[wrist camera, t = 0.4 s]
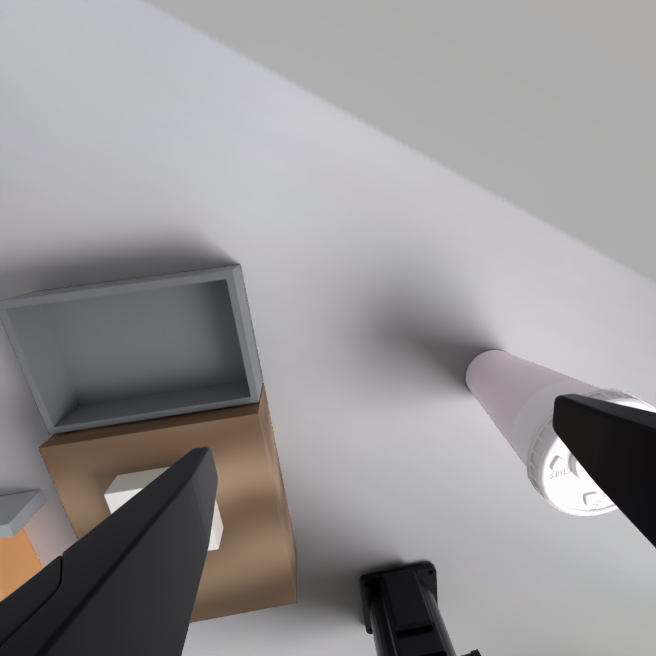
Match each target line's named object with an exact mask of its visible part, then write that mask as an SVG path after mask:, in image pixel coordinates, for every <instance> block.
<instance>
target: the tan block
mask: <svg viewBox="0 0 656 656" xmlns="http://www.w3.org/2000/svg"><path fill="white" fill-rule="evenodd" d="M201 447H209V448H211V450H212V453H213V458H214V462H215V466H216V470H217V475H218V486H217V493H216V502H217V505H218V509H219V513H220V516H221V520H222V524H223V527H224V528H223V532H222V536H221V541H220V545H219V549H216V550H211V551H208V552H207V556H206V560H205V564H204V568H203V572H202V576H201V580H200V584H199V588H198V591H197V595H196V599H195V603H194V607H193V611H192V615H191V619H190V623H192V622H197V621H202V620H208V619H213V618H218V617H223V616H229V615H234V614H239V613H244V612H250V611H255V610H260V609H265V608H271V607H276V606H281V605H286V604H292V603H297V572H296V547H295V542H294V536H293V531H292V526H291V521H290V516H289V511H288V506H287V500H286V495H285V490H284V485H283V480H282V475H281V470H280V464H279V459H278V454H277V449H276V444H275V439H274V434H273V428H272V423H271V418H270V413H269V408H268V403H267V398H266V392H265V387H264V383H262V389H261V394H260V399H259V402H255V403H249V404H243V405H236V406H230V407H223V408H217V409H210V410H204V411H198V412H191V413H185V414H178V415H172V416H165V417H159V418H152V419H146V420H140V421H133V422H127V423H120V424H114V425H107V426H101V427H95V428H88V429H82V430H75V431H69V432H62V433H56V434H54V435H53V436H52V437H50V438H49V439H48V440H47V441H46V442H45V443H44V444H43V445H41V446H40V447H39V448H38V449H39V451H40V454H41V456H42V458H43V460H44V463H45V465H46V467H47V470H48V472H49V474H50V476H51V479H52V481H53V483H54V486H55V488H56V490H57V493H58V495H59V497H60V499H61V502H62V504H63V506H64V509H65V511H66V513H67V515H68V518H69V520H70V522H71V525H72V527H73V529H74V532H75V534H76V536H77V538H78V540H79V539H81V538H82V537H83V536H84V535H86V534H87V533H88V532H89V531H91V530H92V529H93V528H94V527H96V526H97V525H98V524H99V523H101V522H102V521H103V520H104V519H106V518H107V517H108V516H109V515H111V512H110V509H109V507H108V504H107V501H106V499H105V496H104V494H105V492H106V491H107V490H108V488H109V487H110V485H111V484H112V482H113V481H114V480H115V478H116V477H117V475H122V474H128V473H134V472H140V471H146V470H152V469H158V468H164V467H171V466H172V465H173V464H174V463H176V462H177V461H178V460H179V459H181V458H182V457H183V456H184V455H186V454H187V453H188V452H189V451H191V450H192V449H194V448H201Z"/></svg>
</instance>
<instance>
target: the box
mask: <svg viewBox="0 0 656 656" xmlns="http://www.w3.org/2000/svg"><path fill="white" fill-rule="evenodd" d="M0 318H1V321H2V323H3V325H4V328H5V330H6V333H7V335H8V337H9V340H10V342H11V345H12V347H13V349H14V352H15V354H16V356H17V359H18V361H19V364H20V366H21V368H22V371H23V373H24V376H25V378H26V380H27V383H28V385H29V388H30V390H31V392H32V395H33V397H34V399H35V402H36V404H37V407H38V409H39V411H40V414H41V416H42V419H43V421H44V423H45V426H46V428H47V430H48V433H49V435H50V434H56V433H62V432H69V431H75V430H82V429H88V428H95V427H101V426H107V425H114V424H120V423H127V422H133V421H140V420H146V419H152V418H159V417H165V416H172V415H178V414H185V413H191V412H198V411H204V410H210V409H217V408H223V407H230V406H236V405H243V404H249V403H255V402H259V399H260V394H261V389H262V383H263V377H262V372H261V367H260V362H259V356H258V351H257V346H256V341H255V336H254V331H253V326H252V320H251V315H250V310H249V305H248V300H247V295H246V290H245V284H244V279H243V274H242V269H241V264H239V265H231V266H224V267H216V268H209V269H201V270H194V271H186V272H178V273H171V274H163V275H156V276H148V277H141V278H133V279H125V280H118V281H110V282H103V283H95V284H88V285H80V286H72V287H65V288H57V289H50V290H42V291H35V292H31V293H28V294H24V295H20V296H16V297H12V298H8V299H5V300H1V301H0Z"/></svg>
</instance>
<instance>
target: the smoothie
mask: <svg viewBox="0 0 656 656" xmlns="http://www.w3.org/2000/svg"><path fill="white" fill-rule="evenodd" d="M466 384H467V386H468V388H469V390H470V391H471V392H472V394H473V395H474V396H475V398H476V399H477V400H478V402H479V403H480V404H481V406H482V407H483V409H484V410H485V411H486V413H487V414H488V415H489V417H490V418H491V419H492V421H493V422H494V423H495V425H496V426H497V428H498V429H499V430H500V432H501V433H502V434H503V436H504V437H505V438H506V440H507V441H508V442H509V444H510V445H511V447H512V448H513V449H514V451H515V452H516V454H517V455H518V456H519V458H520V459H521V460H522V462H523V463H524V464H525V466H526V467H527V475H528V477H529V479H530V481H531V483H532V485H533V487H534V488H535V489H536V490H537V491H538V492H539V493H540V494H541V495H542V496H543V497H545V498H546V500H547V501H548V502H549V503H550V504H551V505H552V506H554V507H555V508H557V509H558V510H560V511H562V512H565V513H568V514H571V515H578V516H590V515H598V514H603V513H607V512H610V511H612V510H615V509H618V507H617V506H616V505H615V504H614V503H613V502H612V501H611V500H610V499H609V497H608V496H607V495H606V494H605V493H604V492H603V491H602V490H601V489H600V488H599V487H598V485H597V484H596V483H595V482H594V481H593V480H592V478H591V477H590V476H589V475H588V474H587V472H586V471H585V470H584V468H583V467H582V466H581V465H580V463H579V462H578V461H577V460H576V458H575V457H574V456H573V455H572V453H571V452H570V451H569V449H568V448H567V447H566V446H565V444H564V443H563V442H562V441H561V439H560V438H559V437H558V435H557V434H556V433H555V431H554V429H553V425H552V420H553V409H554V400H555V398H556V397H557V396H559V395H564V394H578V395H582V396H587V397H591V398H595V399H600V400H604V401H608V402H612V403H617V404H621V405H625V406H630V407H634V408H638V409H642V410H647V411H651V412H655V413H656V408H654V407H653V406H651V405H650V404H648V403H646V402H643V401H642V400H641V399H639V398H637V397H636V396H634V395H632V394H631V393H629V392H626V391H621V390H616V389H600V388H598V387H595V386H593V385H590V384H588V383H585V382H582V381H579V380H576V379H574V378H571V377H569V376H566V375H563V374H561V373H558V372H556V371H553V370H550V369H548V368H545V367H543V366H540V365H537V364H535V363H532V362H529V361H527V360H524V359H522V358H519V357H516V356H514V355H511V354H509V353H506V352H503V351H500V350H489V351H486V352H483V353H481V354H479V355H478V356H477V357H475V358H474V359H473V360H472V362H471V363H470V365H469V366H468V369H467V371H466Z"/></svg>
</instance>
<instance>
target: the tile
mask: <svg viewBox="0 0 656 656" xmlns="http://www.w3.org/2000/svg"><path fill="white" fill-rule="evenodd" d="M168 468H169V467H164V468H158V469H152V470H146V471H140V472H134V473H128V474H122V475H117V477H116V478H115V480H114V481H113V482H112V484H111V485H110V487H109V488H108V490H107V491H106V492H105V494H104V496H105V499H106V501H107V504H108V507H109V509H110V512H111V514H112V513H113V512H114V511H116V510H117V509H118V508H119V507H121V506H122V505H123V504H124V503H126V502H127V501H128V500H129V499H131V498H132V497H133V496H134V495H136V494H137V493H138V492H139V491H141V490H142V489H143V488H144V487H146V486H147V485H148V484H149V483H151V482H152V481H153V480H154V479H156V478H157V477H158V476H159V475H161V474H162V473H163V472H164V471H166V470H167V469H168ZM223 528H224V527H223V524H222V520H221V516H220V513H219V509H218V505H217V502H216V500H215V507H214V514H213V521H212V529H211V536H210V542H209V547H208V551H211V550H216V549H219V545H220V541H221V536H222V532H223Z"/></svg>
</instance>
